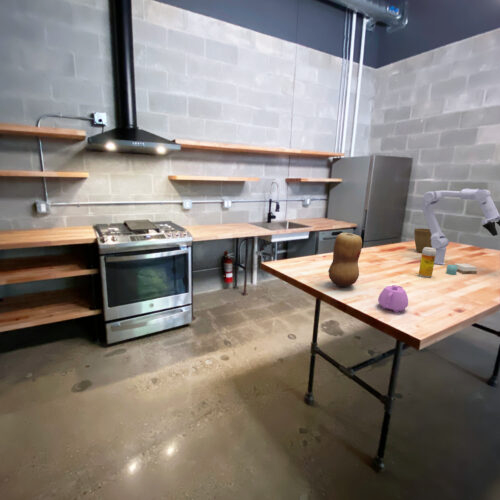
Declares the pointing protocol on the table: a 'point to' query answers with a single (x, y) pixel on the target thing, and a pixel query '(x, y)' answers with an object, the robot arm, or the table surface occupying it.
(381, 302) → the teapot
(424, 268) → the glass of beer
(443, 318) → the table surface
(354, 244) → the butternut squash
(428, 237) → the plant pot
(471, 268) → the off-white slab
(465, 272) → the walnut slab
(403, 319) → the table surface
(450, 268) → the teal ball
